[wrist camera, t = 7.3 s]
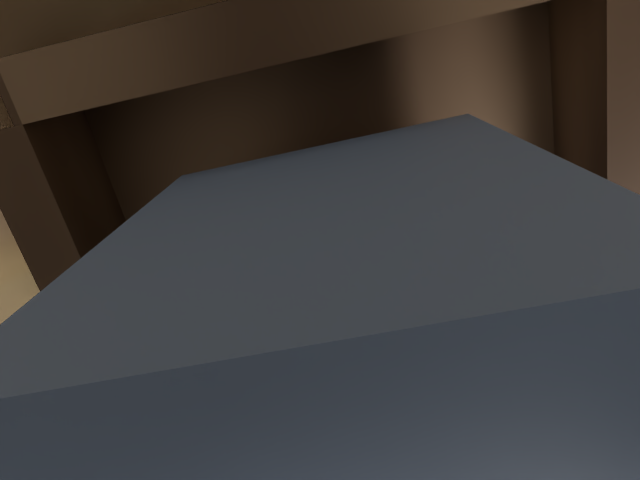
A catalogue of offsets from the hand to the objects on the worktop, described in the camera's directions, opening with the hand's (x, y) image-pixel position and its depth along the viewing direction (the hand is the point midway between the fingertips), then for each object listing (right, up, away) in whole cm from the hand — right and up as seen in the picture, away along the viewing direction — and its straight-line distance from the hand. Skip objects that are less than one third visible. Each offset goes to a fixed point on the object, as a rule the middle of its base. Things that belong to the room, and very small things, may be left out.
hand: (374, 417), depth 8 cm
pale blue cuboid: (0, +1, +1) cm, 2 cm away
